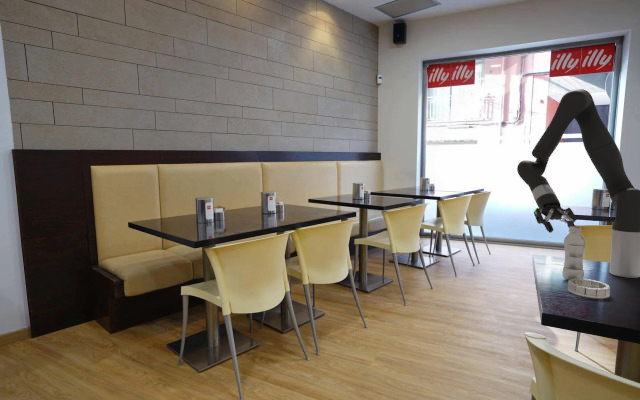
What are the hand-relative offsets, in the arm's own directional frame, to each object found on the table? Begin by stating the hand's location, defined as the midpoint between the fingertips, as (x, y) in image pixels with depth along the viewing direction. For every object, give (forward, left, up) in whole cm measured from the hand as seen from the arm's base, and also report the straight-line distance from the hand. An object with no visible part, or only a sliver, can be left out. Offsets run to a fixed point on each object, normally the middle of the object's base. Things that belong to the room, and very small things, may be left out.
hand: (562, 231), depth 143 cm
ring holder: (+12, +15, -17) cm, 26 cm away
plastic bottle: (+3, +6, -17) cm, 19 cm away
